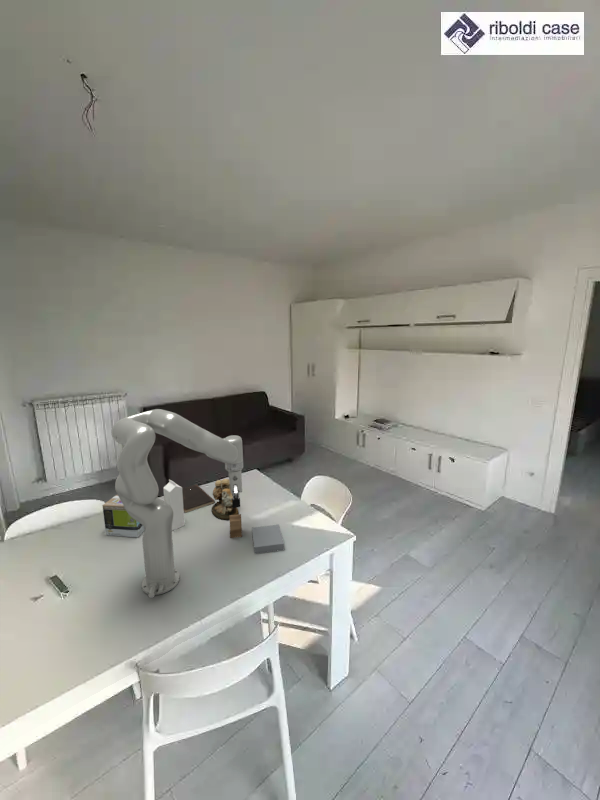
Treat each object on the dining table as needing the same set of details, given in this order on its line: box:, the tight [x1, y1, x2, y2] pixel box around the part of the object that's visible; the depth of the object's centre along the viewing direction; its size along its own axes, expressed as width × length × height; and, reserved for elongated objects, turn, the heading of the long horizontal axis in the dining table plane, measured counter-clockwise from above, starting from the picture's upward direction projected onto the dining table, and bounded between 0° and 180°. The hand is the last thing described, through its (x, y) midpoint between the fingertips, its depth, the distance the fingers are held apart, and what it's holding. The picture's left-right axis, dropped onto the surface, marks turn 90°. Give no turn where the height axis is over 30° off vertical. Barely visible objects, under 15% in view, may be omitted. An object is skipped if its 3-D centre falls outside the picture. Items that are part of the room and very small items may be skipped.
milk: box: [163, 478, 186, 532], centre depth 153 cm, size 6×6×22 cm
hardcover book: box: [182, 484, 216, 514], centre depth 179 cm, size 16×23×2 cm
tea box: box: [101, 494, 145, 538], centre depth 149 cm, size 15×10×15 cm, turn 84°
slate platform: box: [251, 524, 285, 555], centre depth 144 cm, size 14×12×3 cm
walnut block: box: [229, 513, 243, 539], centre depth 148 cm, size 5×5×8 cm
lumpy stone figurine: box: [211, 478, 240, 521], centre depth 166 cm, size 18×12×17 cm, turn 42°
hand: (236, 501), depth 147 cm, fingers open, 9 cm apart
